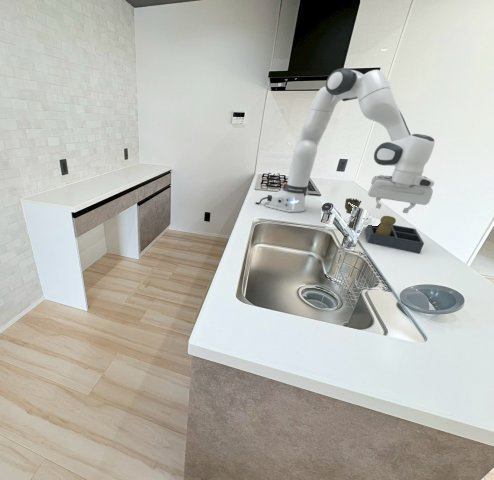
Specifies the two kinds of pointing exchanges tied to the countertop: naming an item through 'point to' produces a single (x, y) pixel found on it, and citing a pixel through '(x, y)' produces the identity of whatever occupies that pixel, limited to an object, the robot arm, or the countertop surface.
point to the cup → (348, 206)
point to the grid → (396, 238)
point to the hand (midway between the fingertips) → (391, 210)
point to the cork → (385, 225)
